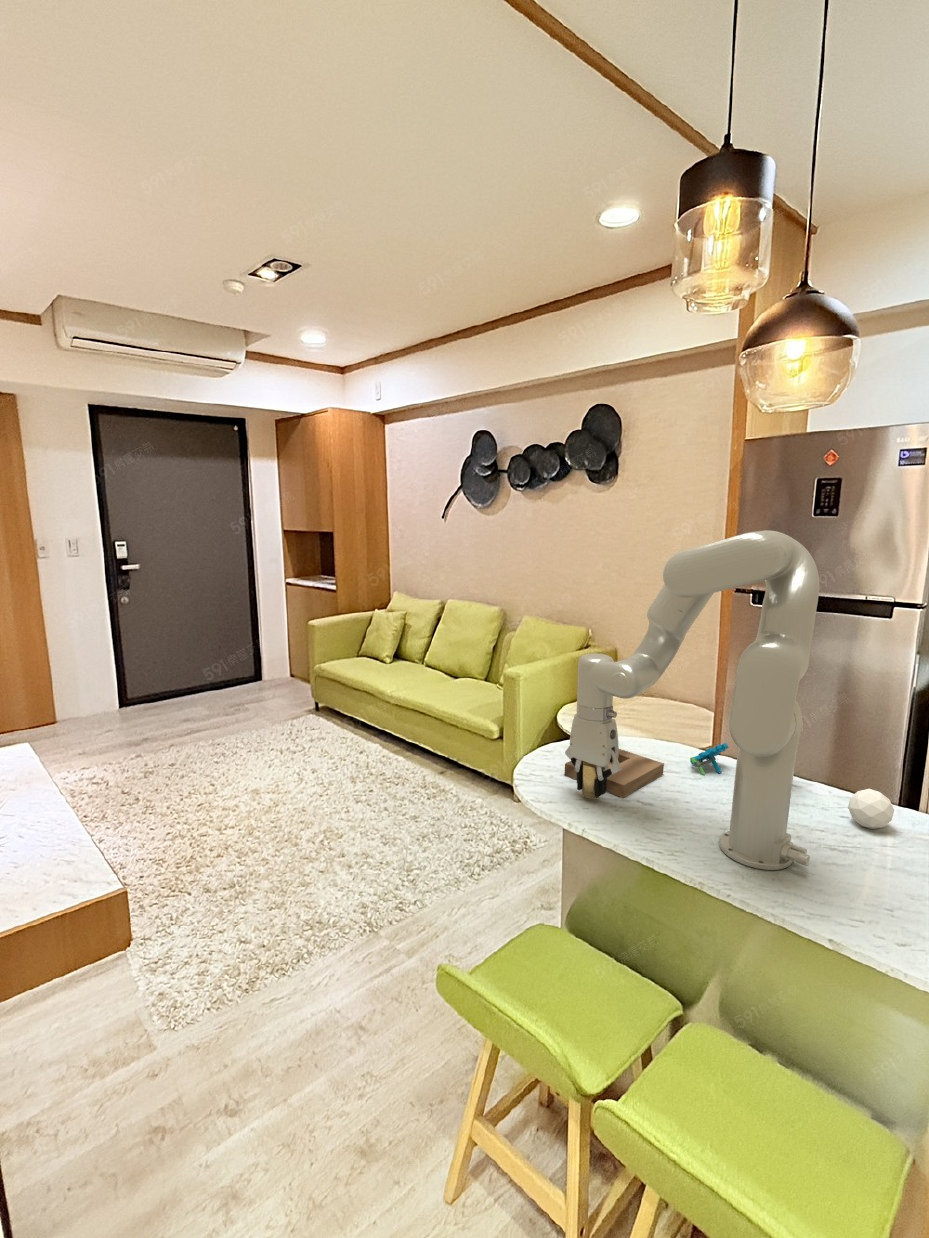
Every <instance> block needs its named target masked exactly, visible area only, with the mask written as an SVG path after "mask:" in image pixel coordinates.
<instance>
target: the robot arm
mask: <svg viewBox="0 0 929 1238" xmlns="http://www.w3.org/2000/svg"><path fill="white" fill-rule="evenodd" d="M662 579H663V583H664V584H663V586H661V587H662V588H661V589H660V590H659V592H658V593H657V595H656V597H655V598H654V600H653V602H652V603H651V604H650V606H649V607H648V608H647V612H646V617H647V620H648V628H647V631H646V633H645V635H644V636H643V639H642V640H641V642H640V644H639V645H638V647H637V648H636V650H635V651H634V652H633V654H632V655H631V656H629V657H627V658H625V659H622V660H618V661H614V659H613V657H611V656H610V655H607V654H604V653H595V652H594V653H586V654H583V655H581V656H580V657H579V659H578V661H577V662H578V666H577V687H576V688H577V689H576V692H577V693H576V695H577V696H576V713H575V714H574V716H573V719H572V724H571V727H570V735H569V736H570V737H569V746H568V747H567V748H566V750H565V751H564V754H565V755H566V757H567V758H568V759H569V760H570V761H571V762H572V764H573V765H574V767H575V771H576V772H577V780H576V789H577V790H578V791H582V776H583V762H587V763H590V764H593V765H596V766H597V774H598V779H596V780H595V796H596V797H599V798H600V797H602V796H603V795H605V794H606V793H607V792H606V789H607V777H609V776H610V775H612V774H614V773H616V772H619V771H621V770H622V768H621V766H620V763H619V761H618V755H619V749H620V747H619V734H618V727H617V722H616V719H614V718H617V716H618V712H617V711H614V706H613V705H614V704H613V703H614V697H616V698H619V699H626V700H627V699H631V698H634V697H636V696H638V695H639V694H642V693H643V692H644V691H646V690H648V689H650V688H651V687H653V686H654V685H655V684H656V683H657V682H658V681H659V680H660V679H661V677H663V674H664V673H665V671H666V669H668V667H669V665H670V664H671V663H672V661H673V659H674V658H675V657H676V655H677V653H678V651H679V649H680V647H681V645H682V644H683V642H684V640H685V637H686V635H687V633H688V632H689V630H690V629H691V627H692V625H693V624H694V622H695V621H696V619H697V618H698V617H699V615H700V614H701V612H702V611H703V610H704V608H705V607H706V606H707V604H708V602H709V601H710V600H711V598H712V596H713V595H714V594H715V593H719V592H722V591H727V590H731V589H736V588H739V587H744V586H748V585H754V584H757V583H760V582H764V584H765V593H764V597H763V601H762V605H761V609H760V612H761V613H760V619H759V625H758V630H757V635H756V638H755V640H754V641H753V642H751V643H750V644H749V645H748V646H747V647H746V648H745V650H744V651H743V652H742V654H741V656H740V658H739V661H738V665H737V669H736V673H735V681H734V687H733V693H732V698H731V705H730V706H731V707H730V711H729V718H728V729H729V733H730V736H731V738H732V740H733V742H734V744H735V745H736V746H737V747H738V751H737V757H736V763H735V764H736V765H735V766H736V767H735V773H734V774H735V775H734V784H733V793H732V794H733V795H732V804H731V811H730V812H731V814H730V822H729V830H727V831H725V832H723V833H722V834H721V835H720V836H719V841H718V842H719V843H718V844H719V847H720V849H721V851H722V852H723V853H724V854H725V855H726V856H728V857H729V858H730V859H732V860H733V861H735V862H737V863H739V864H741V865H745V866H747V867H751V868H754V869H757V870H767V871H772V870H773V871H778V870H783V869H786V868H788V867H790V866H792V864H793V862H795V863H798V864H800V865H803V866H805V867H807V866H808V865H809V863H810V860H811V859H810V858H811V856H810V855H809V854H807V848H805V847H803V846H798V845H796V844H794V842H792V834H790V833H788V832H787V829H788V821H789V813H790V806H791V798H792V789H793V782H794V777H795V776H794V774H795V766H796V758H797V753H798V747H799V742H800V737H801V733H802V732H801V730H802V725H803V717H802V716H803V713H802V709H801V707H800V704H799V702H798V701H797V694H798V689H799V685H800V680H802V679H803V678H804V676H805V674H806V673H807V671H808V668H809V664H810V656H811V647H812V641H813V637H814V630H815V623H816V622H815V621H816V614H817V607H818V602H819V595H820V576H819V571H818V567H817V563H816V562H815V560H814V558H813V556H812V554H811V553H810V552H809V551H808V549H807V548H806V547H805V546H804V545H803V544H802V543H800V542H799V541H797V540H796V539H795V538H793V537H791V536H789V535H787V534H786V533H783V532H780V531H776V530H765V529H764V530H759V531H750V532H744V533H741V534H738V535H734V536H731V537H728V538H724V539H720V540H718V541H714V542H711V543H706V544H703V545H701V546H697V547H692V548H688V549H685V550H681V551H678V552H677V553H674V554H673V555H672V556H671V557H670V558H669V559H668V560H667V562H666V563H665V565H664V568H663V572H662ZM609 762H610V763H611V765H612V768H609V765H608V764H609Z"/></svg>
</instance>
